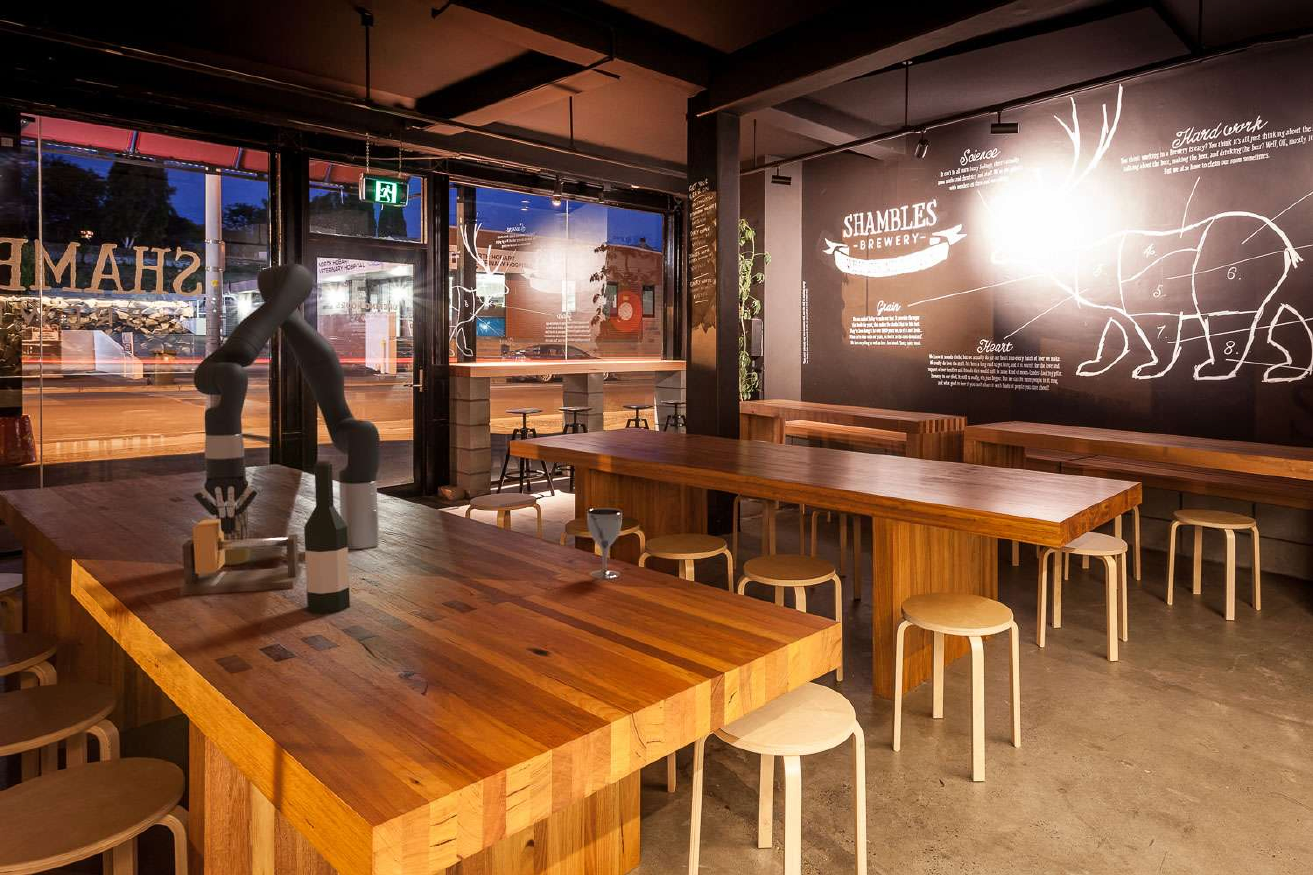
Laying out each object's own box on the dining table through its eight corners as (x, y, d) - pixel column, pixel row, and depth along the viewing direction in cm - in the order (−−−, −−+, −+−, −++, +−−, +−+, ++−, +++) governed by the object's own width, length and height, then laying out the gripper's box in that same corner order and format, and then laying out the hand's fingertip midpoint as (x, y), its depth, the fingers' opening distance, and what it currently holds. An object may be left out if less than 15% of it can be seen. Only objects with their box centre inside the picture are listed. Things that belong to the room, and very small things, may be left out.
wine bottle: (314, 601, 170) (308, 457, 167) (355, 600, 171) (350, 457, 167) (300, 614, 162) (293, 463, 158) (343, 613, 162) (338, 463, 159)
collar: (225, 562, 184) (222, 519, 183) (216, 572, 177) (213, 526, 175) (205, 563, 183) (202, 519, 182) (195, 573, 175) (192, 527, 174)
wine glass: (626, 571, 194) (627, 509, 192) (614, 580, 186) (614, 515, 185) (595, 568, 196) (595, 506, 195) (582, 577, 189) (581, 513, 187)
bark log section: (236, 567, 196) (231, 463, 193) (212, 565, 197) (206, 462, 194) (256, 559, 202) (251, 459, 199) (232, 558, 204) (226, 458, 201)
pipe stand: (301, 573, 191) (299, 530, 189) (293, 588, 179) (291, 542, 178) (195, 579, 185) (193, 535, 184) (180, 595, 173) (177, 548, 172)
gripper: (261, 451, 183) (265, 528, 185) (195, 453, 180) (200, 531, 182) (254, 456, 176) (258, 535, 178) (186, 458, 173) (190, 539, 175)
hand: (229, 533), depth 180 cm, fingers closed
